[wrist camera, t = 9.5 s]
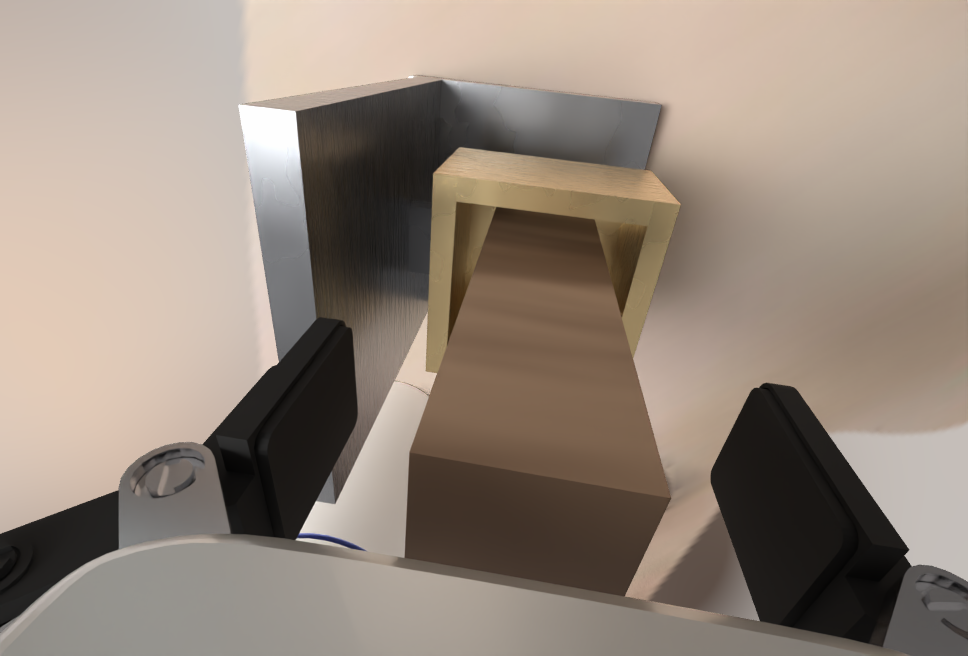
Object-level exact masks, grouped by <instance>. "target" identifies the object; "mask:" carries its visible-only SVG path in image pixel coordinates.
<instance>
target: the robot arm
mask: <svg viewBox="0 0 968 656" xmlns="http://www.w3.org/2000/svg"><path fill="white" fill-rule="evenodd" d="M357 418H358V405H357V390H356V375H355V360H354V345H353V332H352V329H351V328H350V327H346V324H345V322H344V321H343V320H337V319H330V318H324V317H319V318H317V319H316V320H315V321H314V323H313V324H312V325H311V326H310V327H309V328H308V329H307V331H306V332H305V333H304V334H303V335H302V336H301V338H300V339H299V340H298V341H297V342H296V343H295V344H294V346H293V347H292V348H291V349H290V350H289V351H288V353H287V354H286V355H285V356H284V357H283V358H282V359H281V361H280V362H279V363H278V364H277V365H276V366H272V367H271V368H270V369H269V370H268V371H267V372H266V373H265V374H264V375H263V376H262V377H261V379H260V380H259V381H258V382H257V383H256V384H255V385H254V387H253V388H252V389H251V390H250V391H249V392H248V393H247V395H246V396H245V397H244V398H243V399H242V400H241V401H240V402H239V404H238V405H237V406H236V407H235V408H234V409H233V410H232V412H231V413H230V414H229V415H228V416H227V417H226V418H225V420H224V421H223V422H222V423H221V424H220V425H219V427H217V429H216V430H215V431H214V432H213V433H212V434H211V436H210V437H209V438H208V439H207V440H206V441H205V442H204V443H203V444H197V443H194V442H179V443H174V444H169V445H165V446H162V447H160V448H157V449H154V450H152V451H150V452H148V453H147V454H145V455H143V456H142V457H140V458H138V459H137V460H136V461H135V462H134V463H133V464H132V465H130V466H129V467H128V469H127V470H126V471H125V473H124V474H123V476H122V477H121V480H120V484H119V490H118V491H115V492H112V493H109V494H107V495H104V496H101V497H99V498H96V499H93V500H91V501H88V502H85V503H82V504H80V505H77V506H74V507H72V508H69V509H66V510H64V511H61V512H58V513H56V514H53V515H50V516H47V517H45V518H42V519H39V520H37V521H34V522H31V523H29V524H26V525H23V526H21V527H18V528H15V529H13V530H10V531H7V532H4V533H2V534H0V656H968V582H967V581H966V580H964V579H962V578H960V577H958V576H956V575H954V574H952V573H950V572H948V571H946V570H943V569H940V568H937V567H934V566H928V565H917V566H913V567H912V566H911V565H910V563H909V562H908V560H907V559H906V557H905V556H904V555H905V554H906V553H907V552H908V551H909V549H908V547H907V546H906V544H905V543H904V542H903V540H902V539H901V537H900V536H899V534H898V533H897V532H896V530H895V529H894V528H893V526H892V524H891V523H890V522H889V520H888V519H887V517H886V516H885V515H884V513H883V512H882V510H881V509H880V507H879V506H878V505H877V503H876V502H875V501H874V499H873V497H872V496H871V495H870V493H869V492H868V490H867V489H866V488H865V486H864V485H863V483H862V482H861V480H860V479H859V478H858V476H857V475H856V473H855V472H854V470H853V469H852V468H851V466H850V465H849V463H848V462H847V460H846V459H845V458H844V456H843V455H842V453H841V452H840V450H839V449H838V448H837V446H836V445H835V443H834V442H833V441H832V439H831V438H830V436H829V435H828V433H827V432H826V431H825V429H824V428H823V426H822V425H821V423H820V422H819V421H818V419H817V418H816V416H815V415H814V413H813V412H812V411H811V409H810V408H809V406H808V405H807V404H806V402H805V401H804V399H803V398H802V396H801V395H800V394H799V392H798V391H797V390H796V389H795V388H794V387H791V386H785V385H778V384H771V383H764V384H762V385H761V386H760V387H759V388H754V389H753V390H752V391H751V392H750V394H749V396H748V398H747V400H746V402H745V404H744V406H743V408H742V410H741V412H740V414H739V416H738V418H737V420H736V422H735V424H734V426H733V428H732V430H731V432H730V434H729V436H728V438H727V440H726V442H725V444H724V446H723V448H722V450H721V452H720V454H719V456H718V458H717V460H716V462H715V464H714V466H713V468H712V470H711V485H712V488H713V490H714V493H715V496H716V499H717V502H718V504H719V507H720V510H721V513H722V516H723V518H724V521H725V524H726V527H727V529H728V533H729V535H730V538H731V540H732V543H733V547H734V549H735V552H736V555H737V558H738V560H739V563H740V566H741V569H742V571H743V575H744V577H745V580H746V583H747V586H748V589H749V591H750V594H751V596H752V600H753V603H754V605H755V608H756V611H757V614H758V617H759V619H760V621H755V620H749V619H744V618H739V617H733V616H728V615H723V614H717V613H712V612H706V611H701V610H695V609H690V608H684V607H679V606H673V605H668V604H662V603H657V602H652V601H646V600H641V599H635V598H630V597H624V596H619V595H613V594H607V593H602V592H596V591H591V590H585V589H579V588H574V587H568V586H563V585H557V584H551V583H546V582H540V581H534V580H529V579H523V578H518V577H512V576H506V575H501V574H495V573H489V572H484V571H478V570H472V569H466V568H461V567H455V566H449V565H443V564H437V563H431V562H426V561H420V560H414V559H408V558H402V557H397V556H391V555H385V554H379V553H373V552H368V551H362V550H355V549H349V548H343V547H336V546H330V545H323V544H317V543H310V542H304V541H297V540H296V539H297V537H298V535H299V533H300V531H301V529H302V527H303V525H304V523H305V521H306V519H307V518H308V516H309V514H310V512H311V510H312V508H313V506H314V504H315V502H316V500H317V498H318V496H319V495H320V493H321V491H322V489H323V487H324V485H325V483H326V481H327V479H328V477H329V475H330V473H331V472H332V470H333V468H334V466H335V464H336V462H337V460H338V458H339V456H340V454H341V452H342V450H343V449H344V447H345V445H346V443H347V441H348V439H349V437H350V435H351V433H352V431H353V429H354V427H355V425H356V422H357Z"/></svg>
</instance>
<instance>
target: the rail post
mask: <svg viewBox="0 0 968 656" xmlns="http://www.w3.org/2000/svg"><path fill="white" fill-rule="evenodd" d="M670 500H671V496H670V492H669V489H668V485H667V481H666V478H665V474H664V470H663V467H662V463H661V459H660V456H659V452H658V449H657V445H656V441H655V438H654V434H653V430H652V427H651V423H650V419H649V416H648V412H647V408H646V405H645V401H644V397H643V394H642V390H641V386H640V383H639V379H638V376H637V372H636V368H635V365H634V361H633V357H632V354H631V350H630V346H629V343H628V339H627V335H626V332H625V328H624V324H623V321H622V317H621V314H620V310H619V306H618V303H617V299H616V295H615V292H614V288H613V284H612V281H611V277H610V273H609V270H608V266H607V262H606V259H605V255H604V251H603V248H602V244H601V241H600V237H599V233H598V230H597V226H596V222H595V219H588V218H580V217H573V216H565V215H557V214H549V213H542V212H534V211H526V210H518V209H511V208H503V207H496V210H495V212H494V215H493V218H492V221H491V224H490V226H489V229H488V232H487V235H486V238H485V241H484V243H483V246H482V249H481V252H480V255H479V257H478V260H477V263H476V266H475V269H474V272H473V274H472V277H471V280H470V283H469V286H468V288H467V291H466V294H465V297H464V300H463V302H462V305H461V308H460V311H459V314H458V317H457V319H456V322H455V325H454V328H453V331H452V333H451V336H450V339H449V342H448V345H447V348H446V350H445V353H444V356H443V359H442V362H441V364H440V367H439V370H438V373H437V376H436V379H435V381H434V384H433V387H432V390H431V393H430V395H429V398H428V401H427V404H426V407H425V410H424V412H423V415H422V418H421V421H420V424H419V426H418V429H417V432H416V435H415V438H414V441H413V443H412V446H411V449H410V452H409V470H408V492H407V513H406V535H405V557H404V558H408V559H414V560H420V561H426V562H431V563H437V564H443V565H449V566H455V567H461V568H466V569H472V570H478V571H484V572H489V573H495V574H501V575H506V576H512V577H518V578H523V579H529V580H534V581H540V582H546V583H551V584H557V585H563V586H568V587H574V588H579V589H585V590H591V591H596V592H602V593H607V594H613V595H619V596H625V594H626V592H627V590H628V588H629V586H630V584H631V582H632V579H633V577H634V575H635V573H636V571H637V569H638V567H639V565H640V563H641V561H642V558H643V556H644V554H645V552H646V550H647V548H648V546H649V544H650V542H651V540H652V537H653V535H654V533H655V531H656V529H657V527H658V525H659V523H660V521H661V519H662V516H663V514H664V512H665V510H666V508H667V506H668V504H669V502H670Z"/></svg>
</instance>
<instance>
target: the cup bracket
mask: <svg viewBox="0 0 968 656" xmlns="http://www.w3.org/2000/svg"><path fill="white" fill-rule="evenodd" d="M661 106H662V105H661V104H659V103H656V102H647V101H638V100H630V99H621V98H612V97H603V96H595V95H586V94H577V93H568V92H560V91H551V90H542V89H533V88H524V87H516V86H507V85H498V84H489V83H481V82H472V81H463V80H454V79H446V78H437V77H428V76H419V75H412V76H409V78H406V79H400V80H394V81H387V82H381V83H374V84H368V85H362V86H355V87H349V88H342V89H336V90H329V91H323V92H317V93H310V94H304V95H297V96H291V97H285V98H278V99H272V100H265V101H259V102H252V103H246V104H240V105H239V111H240V117H241V124H242V130H243V136H244V143H245V149H246V155H247V162H248V168H249V174H250V181H251V187H252V194H253V200H254V206H255V213H256V219H257V225H258V232H259V238H260V244H261V251H262V257H263V264H264V270H265V276H266V283H267V289H268V295H269V302H270V308H271V314H272V321H273V327H274V334H275V340H276V346H277V353H278V359H279V362H280V361H281V359H282V358H283V357H284V356H285V355H286V354H287V353H288V351H289V350H290V349H291V348H292V347H293V346H294V344H295V343H296V342H297V341H298V340H299V339H300V338H301V336H302V335H303V334H304V333H305V332H306V331H307V329H308V328H309V327H310V326H311V325H312V324H313V323H314V321H315V320H316V319H317V318H319V317H324V318H330V319H337V320H343V321H344V322H345V324H346V327H350V328H351V329H352V332H353V345H354V360H355V375H356V390H357V405H358V418H357V422H356V425H355V427H354V429H353V431H352V433H351V435H350V437H349V439H348V441H347V443H346V445H345V447H344V449H343V450H342V452H341V454H340V456H339V458H338V460H337V462H336V464H335V466H334V468H333V470H332V472H331V473H330V475H329V477H328V479H327V481H326V483H325V485H324V487H323V489H322V491H321V493H320V495H319V496H318V498H317V500H316V501H318V502H324V503H330V504H336V502H337V500H338V498H339V495H340V493H341V491H342V489H343V487H344V485H345V483H346V481H347V479H348V477H349V475H350V472H351V470H352V468H353V466H354V464H355V462H356V460H357V458H358V456H359V454H360V452H361V450H362V447H363V445H364V443H365V441H366V439H367V437H368V435H369V433H370V431H371V429H372V427H373V424H374V422H375V420H376V418H377V416H378V414H379V412H380V410H381V408H382V406H383V404H384V402H385V399H386V397H387V395H388V393H389V391H390V389H391V387H392V385H393V383H394V381H395V379H396V376H397V374H398V372H399V370H400V368H401V366H402V364H403V362H404V360H405V358H406V356H407V354H408V351H409V349H410V347H411V345H412V343H413V341H414V339H415V337H416V335H417V333H418V331H419V328H420V326H421V324H422V322H423V320H424V318H425V316H426V314H427V312H428V324H427V350H426V371H427V372H434V373H438V370H439V367H440V364H441V362H442V359H443V356H444V353H445V350H446V348H447V345H448V342H449V339H450V336H451V333H452V331H453V328H454V325H455V322H456V319H457V317H458V314H459V311H460V308H461V305H462V302H463V300H464V297H465V294H466V291H467V288H468V286H469V283H470V280H471V277H472V274H473V272H474V269H475V266H476V263H477V260H478V257H479V255H480V252H481V249H482V246H483V243H484V241H485V238H486V235H487V232H488V229H489V226H490V224H491V221H492V218H493V215H494V212H495V210H496V207H503V208H511V209H518V210H526V211H534V212H542V213H549V214H557V215H565V216H573V217H580V218H588V219H595V222H596V226H597V230H598V233H599V237H600V241H601V244H602V248H603V251H604V255H605V259H606V262H607V266H608V270H609V273H610V277H611V281H612V284H613V288H614V292H615V295H616V299H617V303H618V306H619V310H620V314H621V317H622V321H623V324H624V328H625V332H626V335H627V339H628V343H629V346H630V350H631V354H632V357H634V354H635V351H636V347H637V344H638V341H639V338H640V334H641V331H642V328H643V325H644V322H645V318H646V315H647V312H648V309H649V306H650V302H651V299H652V296H653V293H654V289H655V286H656V283H657V280H658V277H659V273H660V270H661V267H662V264H663V261H664V257H665V254H666V251H667V248H668V244H669V241H670V238H671V235H672V232H673V228H674V225H675V222H676V219H677V216H678V212H679V209H680V206H681V204H680V203H679V202H678V201H677V200H676V198H675V197H674V196H673V195H672V194H671V193H670V192H669V190H668V189H667V188H666V187H665V186H664V185H663V184H662V183H661V181H660V180H659V179H658V178H657V177H656V176H655V175H654V173H653V172H652V171H650V170H645V167H646V163H647V159H648V155H649V151H650V148H651V144H652V140H653V136H654V132H655V128H656V125H657V121H658V117H659V113H660V109H661Z"/></svg>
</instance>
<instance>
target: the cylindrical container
mask: <svg viewBox="0 0 968 656" xmlns="http://www.w3.org/2000/svg"><path fill="white" fill-rule="evenodd" d="M428 398H429V396H428V395H426V394H425V393H424V392H423V391H421V390H419V389H418V388H416V387H414V386H411V385H409V384H406V383H402V382H399V381H394V383H393V385H392V387H391V389H390V391H389V393H388V395H387V397H386V399H385V402H384V404H383V406H382V408H381V410H380V412H379V414H378V416H377V418H376V420H375V422H374V424H373V427H372V429H371V431H370V433H369V435H368V437H367V439H366V441H365V443H364V445H363V447H362V450H361V452H360V454H359V456H358V458H357V460H356V462H355V464H354V466H353V468H352V470H351V472H350V475H349V477H348V479H347V481H346V483H345V485H344V487H343V489H342V491H341V493H340V495H339V498H338V500H337V502H336V504H330V503H324V502H318V501H316V502H315V504H314V506H313V508H312V510H311V512H310V514H309V516H308V518H307V519H306V521H305V523H304V525H303V527H302V529H301V531H300V533H299V535H298V537H297V539H296V540H297V541H304V542H310V543H317V544H323V545H330V546H336V547H343V548H349V549H355V550H362V551H368V552H373V553H379V554H385V555H391V556H397V557H402V558H404V557H405V535H406V513H407V492H408V470H409V452H410V449H411V446H412V443H413V441H414V438H415V435H416V432H417V429H418V426H419V424H420V421H421V418H422V415H423V412H424V410H425V407H426V404H427V401H428Z"/></svg>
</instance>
